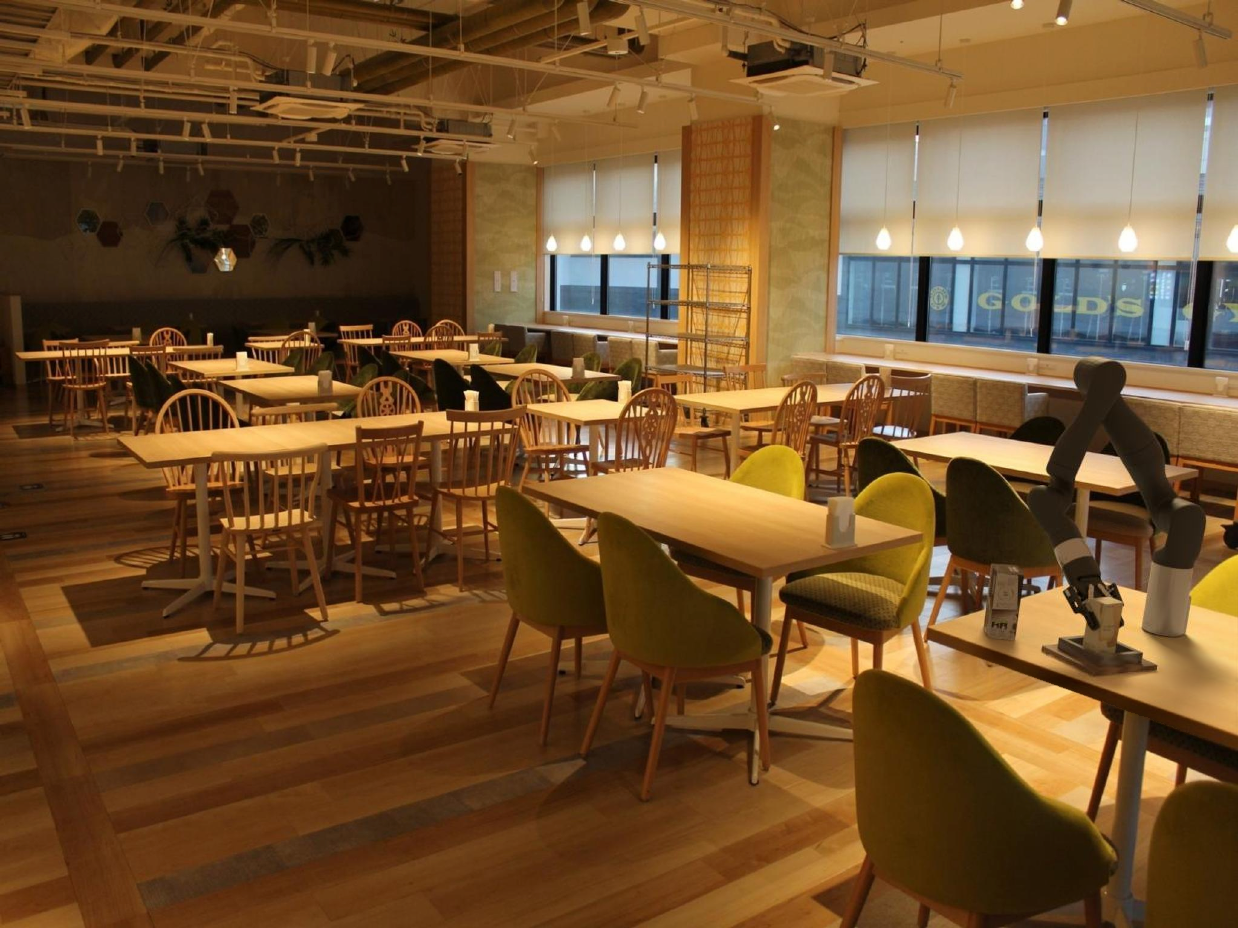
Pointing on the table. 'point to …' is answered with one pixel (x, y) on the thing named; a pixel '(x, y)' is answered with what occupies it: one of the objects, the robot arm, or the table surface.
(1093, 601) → the skincare box
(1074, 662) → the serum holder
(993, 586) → the coffee box
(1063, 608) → the table surface
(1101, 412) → the robot arm
